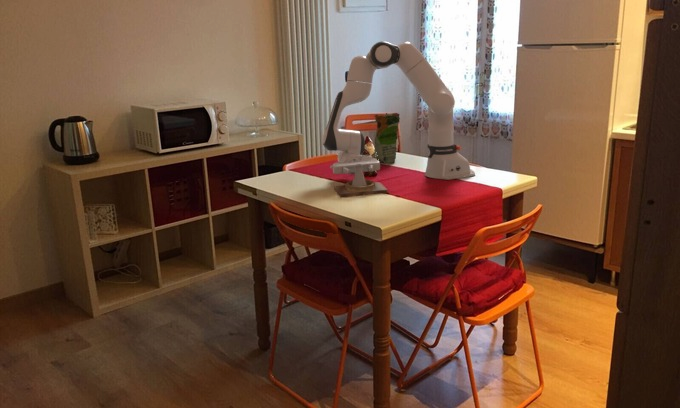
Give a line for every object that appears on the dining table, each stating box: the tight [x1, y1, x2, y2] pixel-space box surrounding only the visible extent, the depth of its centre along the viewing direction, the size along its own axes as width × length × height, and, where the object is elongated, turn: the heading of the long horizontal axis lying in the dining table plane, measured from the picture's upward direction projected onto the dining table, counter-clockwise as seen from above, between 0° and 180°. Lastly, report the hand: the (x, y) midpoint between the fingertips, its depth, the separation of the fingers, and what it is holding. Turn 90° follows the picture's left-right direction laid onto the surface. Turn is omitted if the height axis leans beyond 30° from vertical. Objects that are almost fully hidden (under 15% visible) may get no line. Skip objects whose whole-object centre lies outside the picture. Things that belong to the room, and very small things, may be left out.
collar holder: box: [333, 179, 388, 199], centre depth 244 cm, size 20×13×4 cm, turn 102°
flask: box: [351, 164, 367, 187], centre depth 243 cm, size 7×7×10 cm
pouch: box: [373, 112, 401, 165], centre depth 292 cm, size 11×12×25 cm
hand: (360, 170), depth 241 cm, fingers open, 8 cm apart
